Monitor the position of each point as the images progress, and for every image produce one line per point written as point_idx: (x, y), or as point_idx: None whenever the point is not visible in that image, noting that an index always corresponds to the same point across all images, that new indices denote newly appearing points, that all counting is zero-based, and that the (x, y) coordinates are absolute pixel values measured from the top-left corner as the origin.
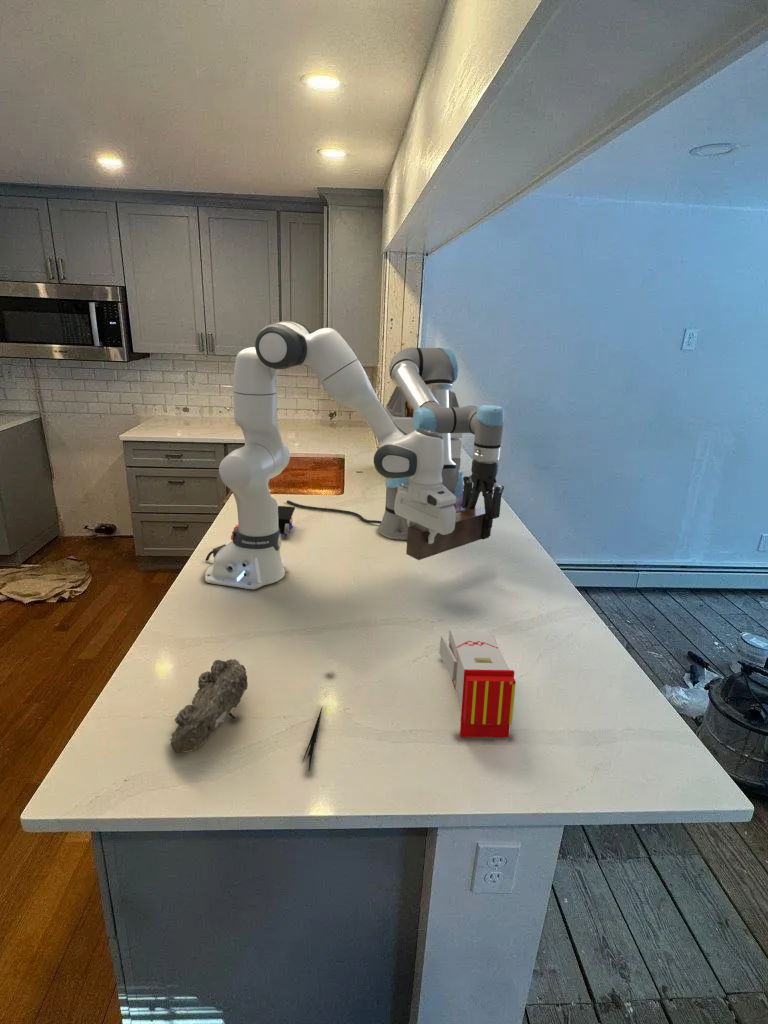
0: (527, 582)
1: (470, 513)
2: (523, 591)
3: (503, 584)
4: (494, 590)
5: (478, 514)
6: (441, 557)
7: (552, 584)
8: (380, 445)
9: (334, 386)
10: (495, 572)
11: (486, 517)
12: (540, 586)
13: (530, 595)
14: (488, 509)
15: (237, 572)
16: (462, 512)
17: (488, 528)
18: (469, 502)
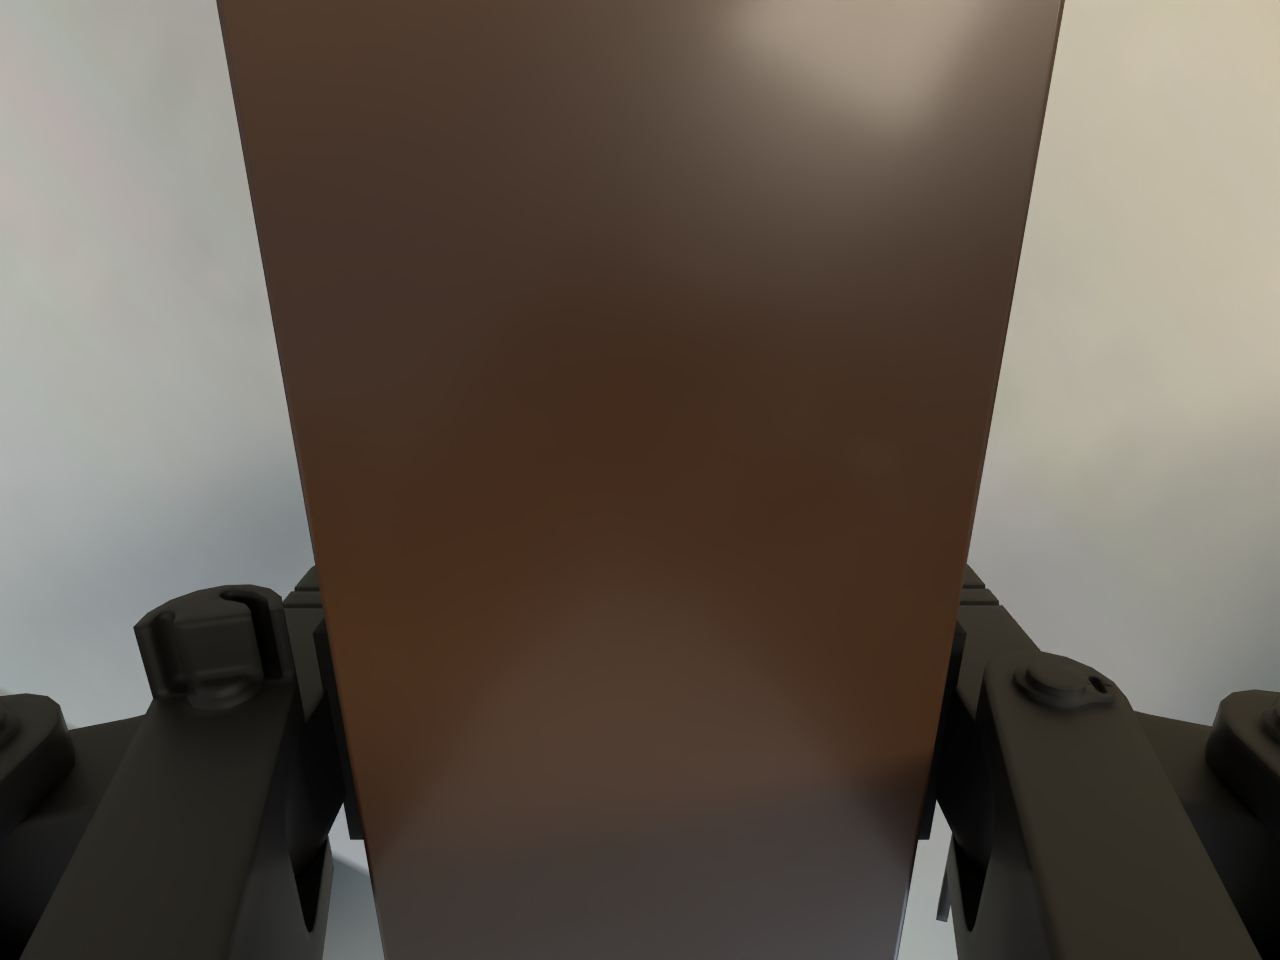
0: (211, 543)
1: (648, 379)
2: (90, 385)
3: (274, 348)
4: (215, 175)
5: (386, 546)
6: (1030, 311)
7: (100, 664)
8: None
9: None
10: None
11: (238, 668)
12: (109, 568)
13: (4, 374)
14: (43, 944)
15: None
16: (954, 167)
17: None
18: (1189, 941)
